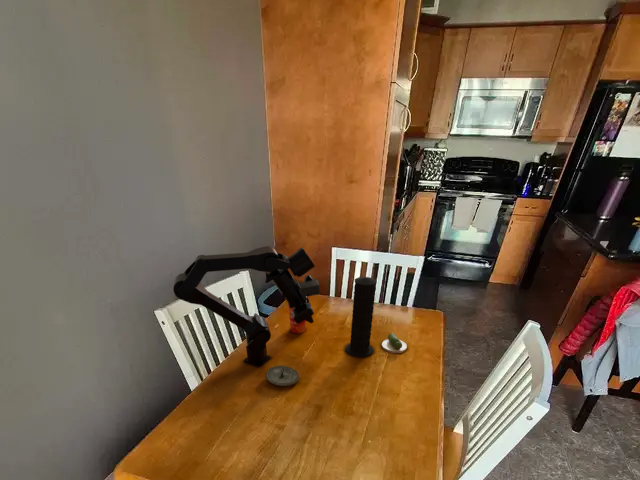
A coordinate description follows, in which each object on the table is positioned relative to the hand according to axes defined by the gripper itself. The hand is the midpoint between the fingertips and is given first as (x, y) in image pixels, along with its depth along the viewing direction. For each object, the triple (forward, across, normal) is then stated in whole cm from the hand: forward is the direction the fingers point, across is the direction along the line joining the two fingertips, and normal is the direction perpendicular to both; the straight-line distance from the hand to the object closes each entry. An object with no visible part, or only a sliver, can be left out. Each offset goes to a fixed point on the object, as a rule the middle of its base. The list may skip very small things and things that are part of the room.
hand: (312, 322), depth 121 cm
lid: (+4, -14, +16) cm, 22 cm away
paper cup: (+10, +17, +8) cm, 22 cm away
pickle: (+26, -1, -20) cm, 32 cm away
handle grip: (+19, -1, -8) cm, 21 cm away
